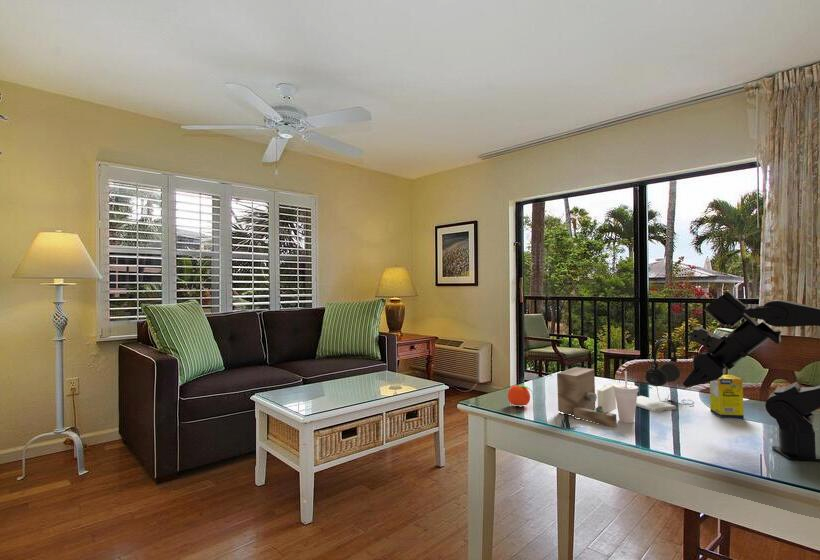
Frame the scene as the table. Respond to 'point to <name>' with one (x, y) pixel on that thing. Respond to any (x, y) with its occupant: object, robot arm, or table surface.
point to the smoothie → (626, 400)
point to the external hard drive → (653, 404)
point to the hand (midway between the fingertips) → (689, 382)
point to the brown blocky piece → (581, 396)
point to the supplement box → (727, 396)
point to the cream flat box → (606, 399)
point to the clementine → (519, 395)
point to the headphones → (663, 369)
